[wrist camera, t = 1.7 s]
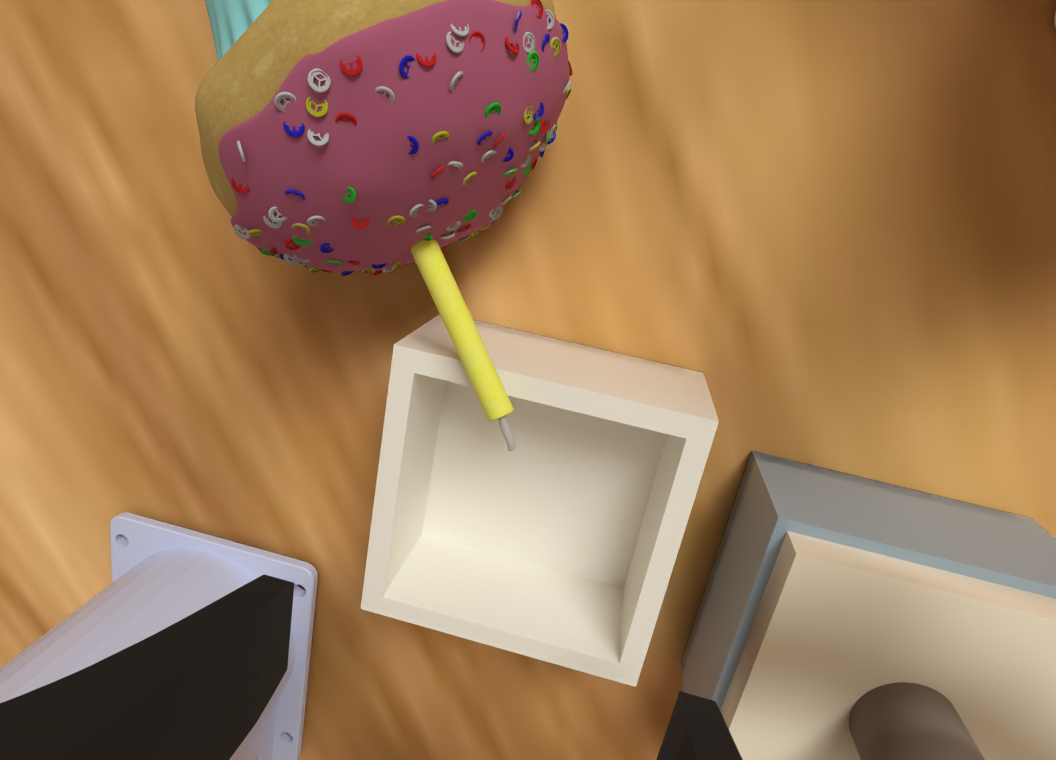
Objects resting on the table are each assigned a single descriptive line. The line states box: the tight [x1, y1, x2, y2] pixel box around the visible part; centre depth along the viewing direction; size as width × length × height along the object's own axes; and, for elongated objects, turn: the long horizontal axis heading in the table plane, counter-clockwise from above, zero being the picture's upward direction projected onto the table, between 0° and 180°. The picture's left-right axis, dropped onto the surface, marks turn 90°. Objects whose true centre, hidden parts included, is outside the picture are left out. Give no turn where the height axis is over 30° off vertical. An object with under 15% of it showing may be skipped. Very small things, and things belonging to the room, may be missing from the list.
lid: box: [720, 531, 1056, 760], centre depth 14 cm, size 7×7×4 cm
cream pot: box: [361, 314, 719, 687], centre depth 19 cm, size 8×8×4 cm
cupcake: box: [195, 0, 572, 451], centre depth 14 cm, size 9×8×12 cm
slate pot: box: [681, 451, 1056, 709], centre depth 18 cm, size 8×8×4 cm
